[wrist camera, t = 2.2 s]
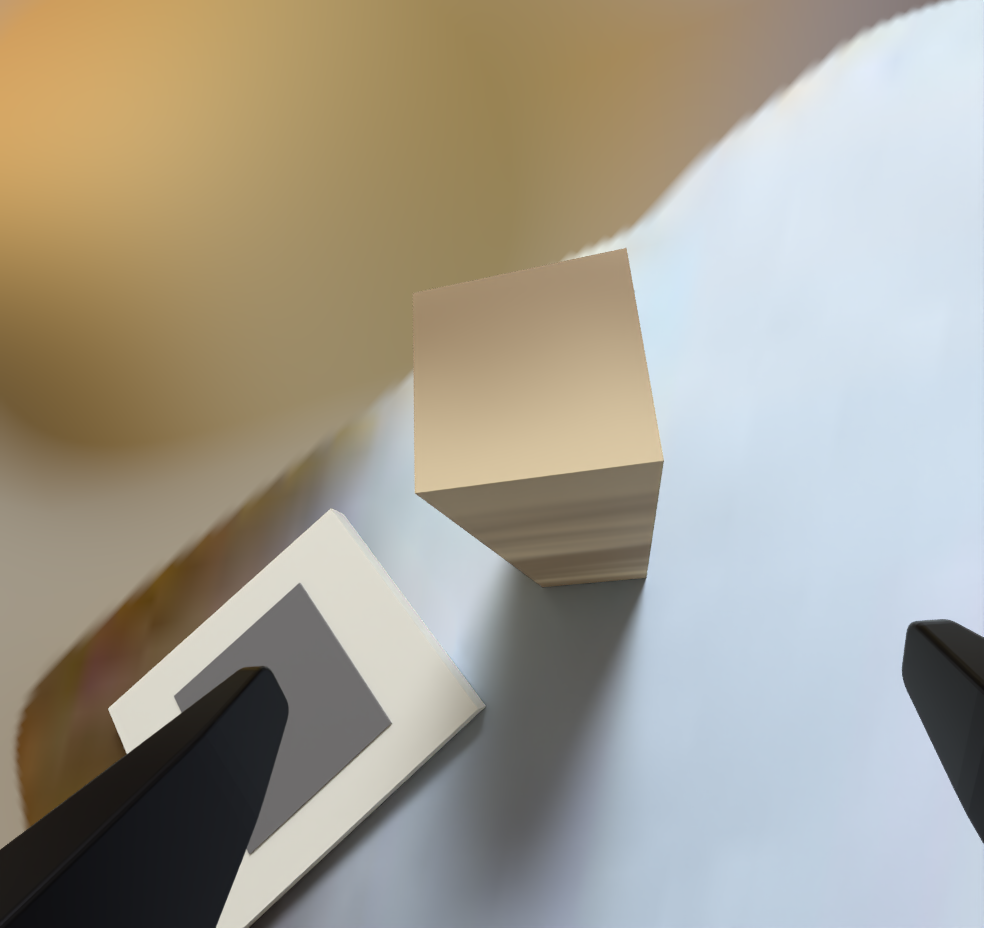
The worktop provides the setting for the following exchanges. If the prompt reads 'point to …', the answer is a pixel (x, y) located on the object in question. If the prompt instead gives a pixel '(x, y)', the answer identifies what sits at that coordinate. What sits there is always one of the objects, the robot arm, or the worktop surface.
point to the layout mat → (315, 699)
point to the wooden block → (540, 418)
